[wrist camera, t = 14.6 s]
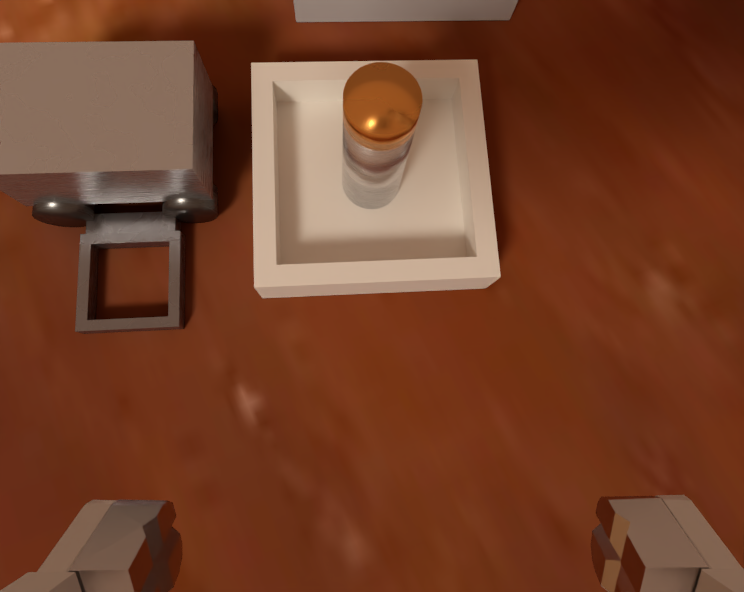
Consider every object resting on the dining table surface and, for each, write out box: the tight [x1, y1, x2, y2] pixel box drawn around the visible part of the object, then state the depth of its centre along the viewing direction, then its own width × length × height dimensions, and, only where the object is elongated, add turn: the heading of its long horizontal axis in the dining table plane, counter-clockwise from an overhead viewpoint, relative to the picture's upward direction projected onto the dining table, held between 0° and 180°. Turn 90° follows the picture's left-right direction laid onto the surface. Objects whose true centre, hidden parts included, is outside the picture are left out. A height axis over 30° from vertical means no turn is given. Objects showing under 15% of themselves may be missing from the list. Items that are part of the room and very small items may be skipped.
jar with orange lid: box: [342, 62, 423, 209], centre depth 27 cm, size 4×4×9 cm
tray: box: [251, 60, 501, 298], centre depth 31 cm, size 13×13×3 cm
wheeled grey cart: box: [0, 41, 218, 334], centre depth 28 cm, size 10×14×6 cm
